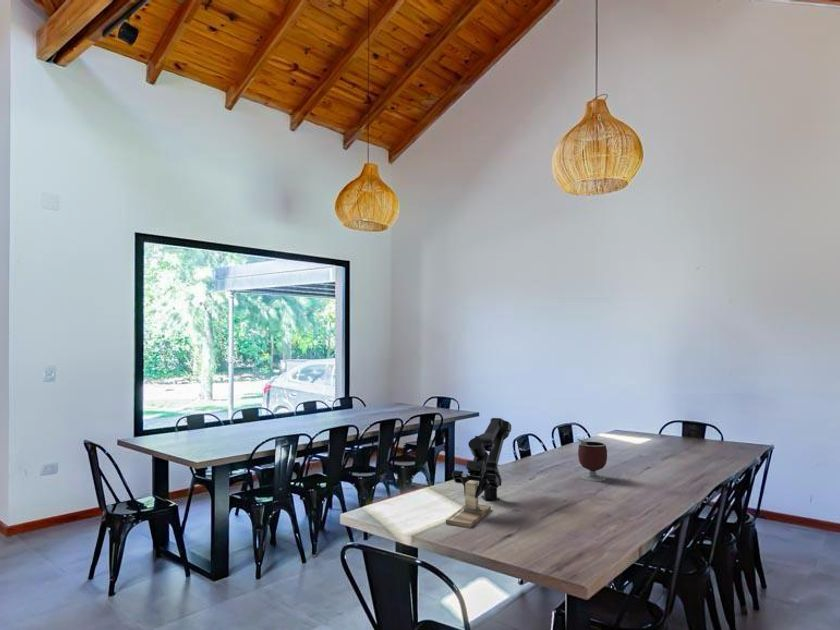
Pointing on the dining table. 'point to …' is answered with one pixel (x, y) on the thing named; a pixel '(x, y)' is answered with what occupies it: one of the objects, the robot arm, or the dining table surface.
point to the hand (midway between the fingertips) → (470, 497)
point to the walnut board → (467, 516)
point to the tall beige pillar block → (471, 497)
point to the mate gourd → (592, 458)
